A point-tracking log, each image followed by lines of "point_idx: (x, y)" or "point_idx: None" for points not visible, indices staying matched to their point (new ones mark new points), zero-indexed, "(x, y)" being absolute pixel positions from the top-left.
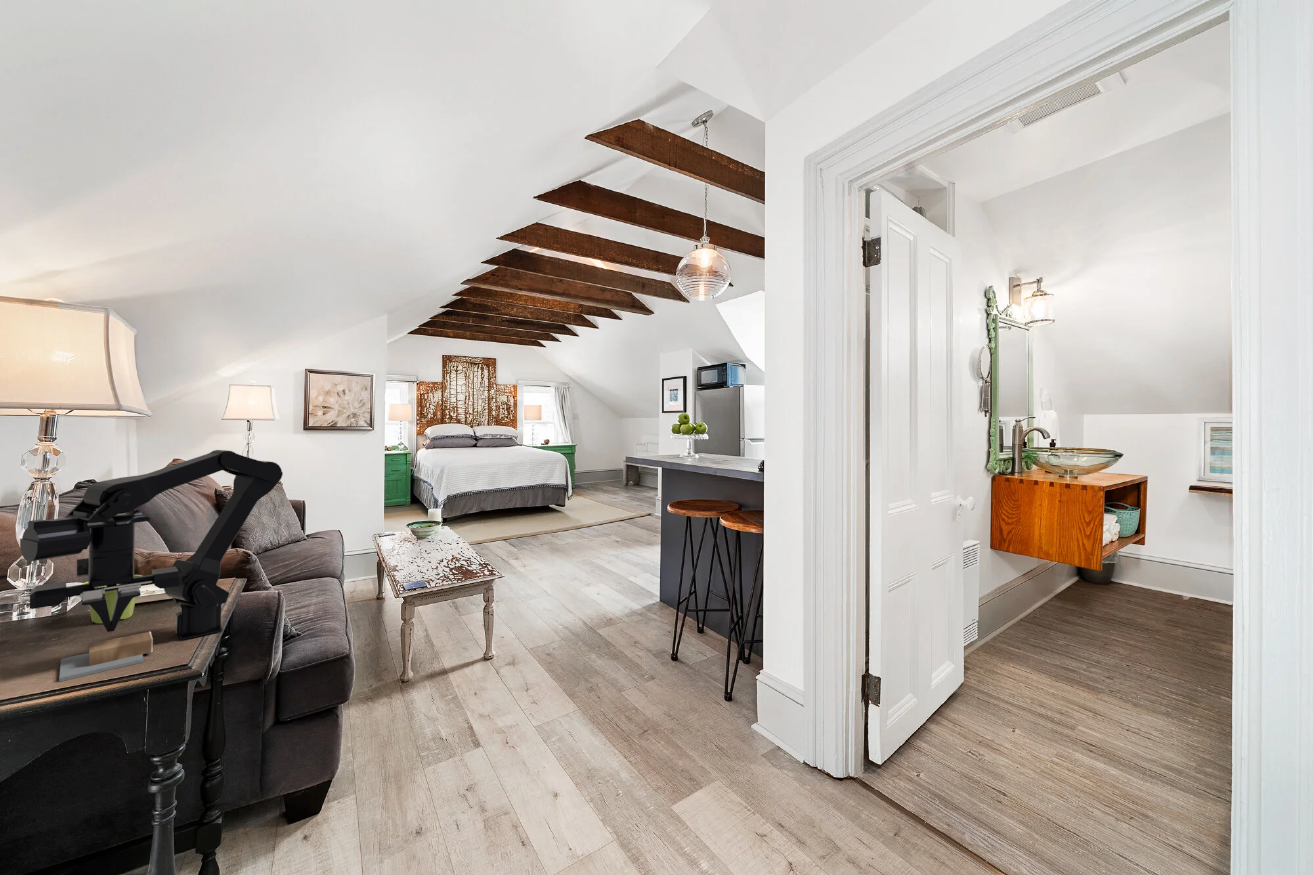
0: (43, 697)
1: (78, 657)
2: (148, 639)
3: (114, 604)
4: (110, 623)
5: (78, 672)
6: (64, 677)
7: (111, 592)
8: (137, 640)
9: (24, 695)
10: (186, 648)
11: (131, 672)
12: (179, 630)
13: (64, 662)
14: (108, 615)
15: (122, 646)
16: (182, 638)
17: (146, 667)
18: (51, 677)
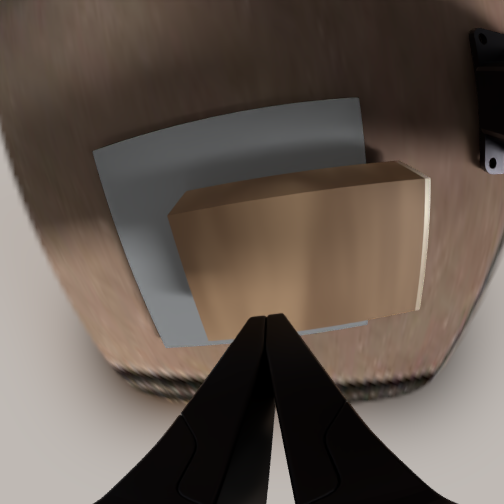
0: (176, 400)
1: (147, 170)
2: (406, 307)
3: (294, 498)
4: (273, 410)
5: (201, 336)
6: (176, 346)
7: None
8: (372, 293)
9: (130, 371)
10: (471, 263)
11: (331, 371)
12: (498, 135)
13: (118, 207)
14: (265, 486)
15: (317, 323)
16: (485, 170)
17: (364, 358)
18: (131, 294)
